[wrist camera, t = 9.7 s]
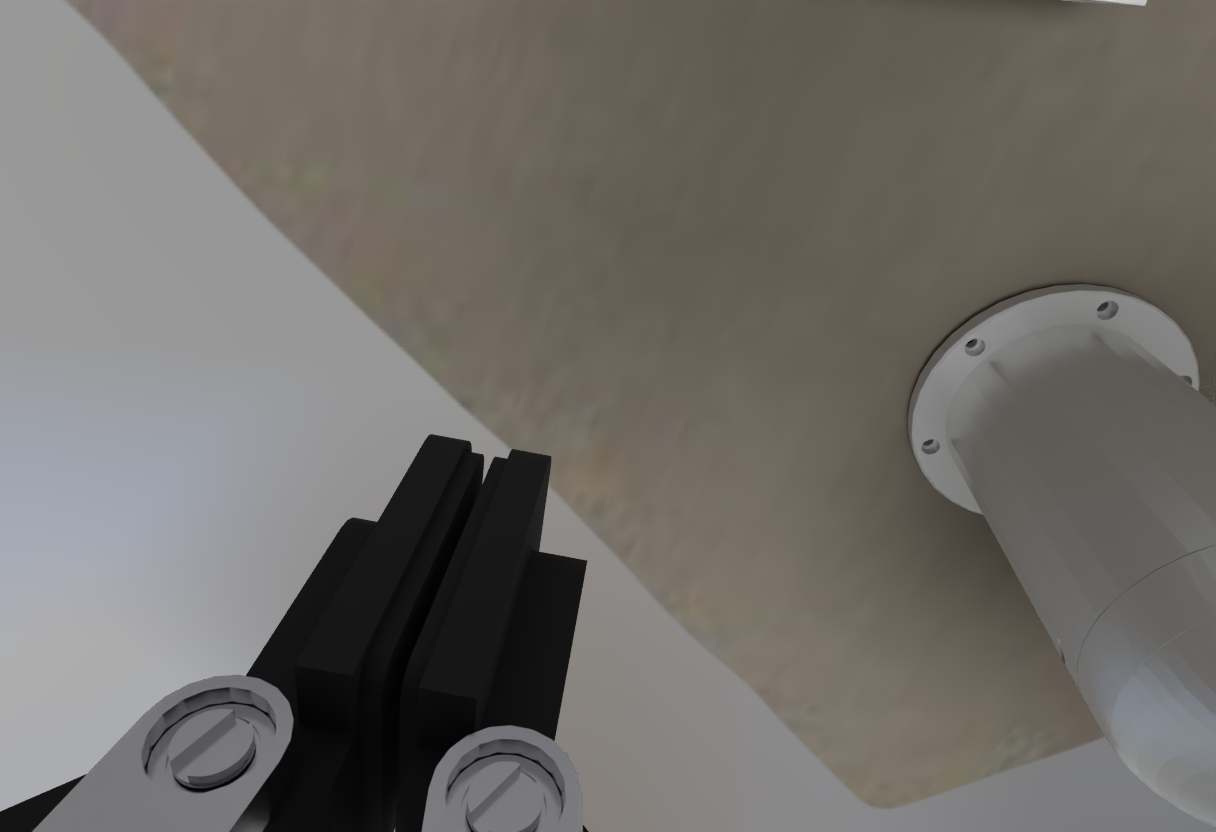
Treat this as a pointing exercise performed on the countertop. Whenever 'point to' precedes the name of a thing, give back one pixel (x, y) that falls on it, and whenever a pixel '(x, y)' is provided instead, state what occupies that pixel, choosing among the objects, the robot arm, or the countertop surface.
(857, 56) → the countertop surface
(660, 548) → the countertop surface
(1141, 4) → the keypad
